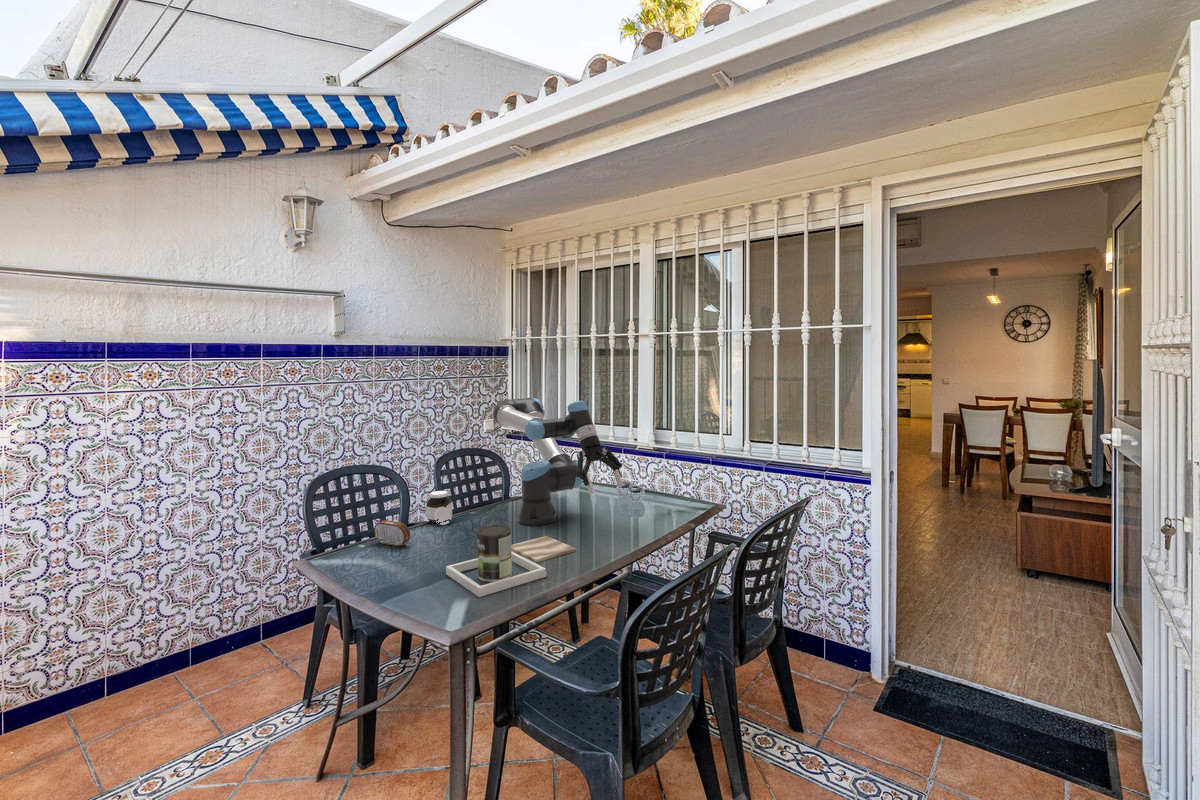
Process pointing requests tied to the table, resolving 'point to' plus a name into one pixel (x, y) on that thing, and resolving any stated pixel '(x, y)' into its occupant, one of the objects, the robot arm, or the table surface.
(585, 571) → the table surface
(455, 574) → the white square frame
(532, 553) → the board
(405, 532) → the tin
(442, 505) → the spread jar
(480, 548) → the coffee can
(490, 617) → the table surface
